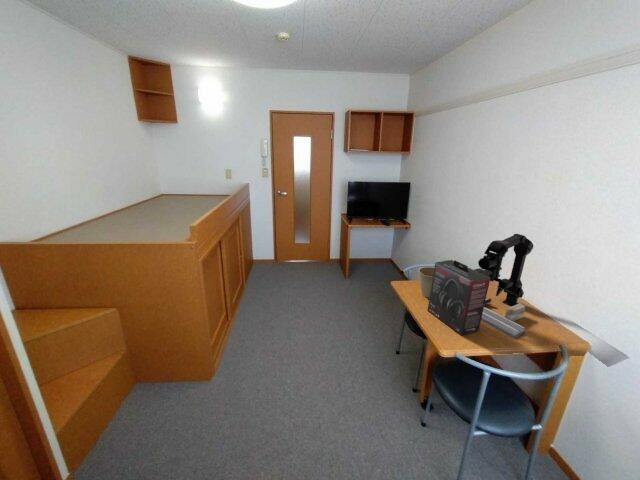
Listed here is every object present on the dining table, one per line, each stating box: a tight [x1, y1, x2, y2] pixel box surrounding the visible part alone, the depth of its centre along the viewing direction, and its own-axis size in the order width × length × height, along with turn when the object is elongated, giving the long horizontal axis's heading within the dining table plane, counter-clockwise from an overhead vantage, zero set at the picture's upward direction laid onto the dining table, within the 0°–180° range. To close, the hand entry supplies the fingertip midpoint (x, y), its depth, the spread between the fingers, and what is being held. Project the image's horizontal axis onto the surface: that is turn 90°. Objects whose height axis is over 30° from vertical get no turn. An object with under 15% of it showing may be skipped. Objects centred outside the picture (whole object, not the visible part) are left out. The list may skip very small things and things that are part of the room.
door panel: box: [504, 303, 526, 322], centre depth 154 cm, size 3×12×7 cm, turn 118°
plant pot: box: [418, 266, 434, 299], centre depth 175 cm, size 15×15×16 cm
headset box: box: [427, 259, 491, 336], centre depth 147 cm, size 24×13×33 cm, turn 21°
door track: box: [481, 306, 526, 339], centre depth 150 cm, size 10×24×4 cm, turn 28°
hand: (488, 292), depth 153 cm, fingers open, 9 cm apart
